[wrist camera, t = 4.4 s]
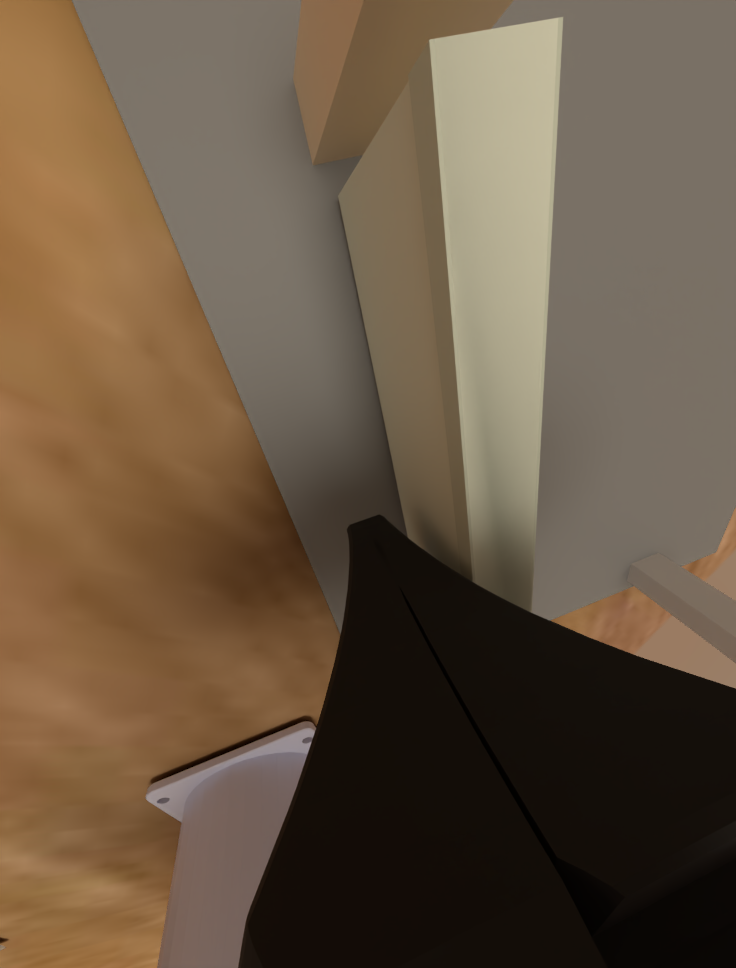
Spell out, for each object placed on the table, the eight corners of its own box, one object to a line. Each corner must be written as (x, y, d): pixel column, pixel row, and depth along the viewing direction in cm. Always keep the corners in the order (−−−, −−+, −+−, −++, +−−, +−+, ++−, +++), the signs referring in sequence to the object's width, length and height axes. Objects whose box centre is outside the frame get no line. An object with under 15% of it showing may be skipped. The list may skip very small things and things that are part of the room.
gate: (455, 632, 15) (524, 751, 11) (428, 643, 14) (487, 768, 11) (394, 183, 7) (563, 17, 3) (335, 196, 7) (429, 39, 3)
